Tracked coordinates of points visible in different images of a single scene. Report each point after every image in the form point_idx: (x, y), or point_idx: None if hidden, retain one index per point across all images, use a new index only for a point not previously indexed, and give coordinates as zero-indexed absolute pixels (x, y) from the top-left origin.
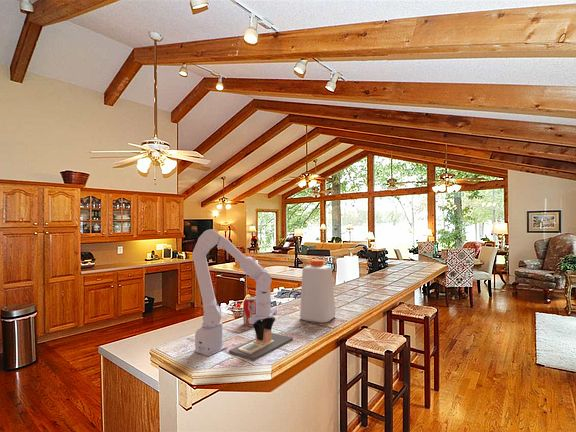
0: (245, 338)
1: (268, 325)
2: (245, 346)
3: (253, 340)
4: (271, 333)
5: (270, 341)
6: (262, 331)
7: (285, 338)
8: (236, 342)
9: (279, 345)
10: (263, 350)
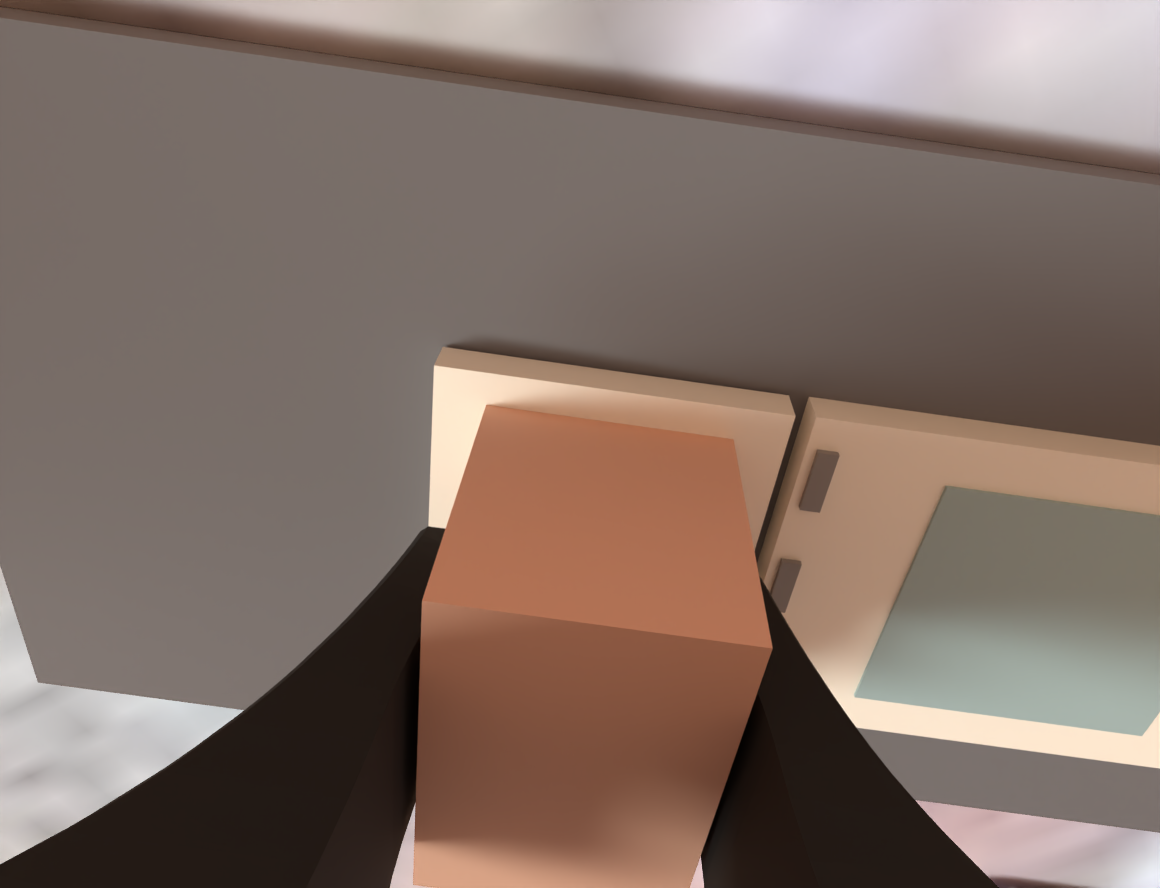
0: None
1: (363, 827)
2: (1043, 707)
3: None
4: (450, 522)
5: (546, 404)
6: (835, 758)
7: (29, 188)
8: (701, 875)
9: (541, 94)
10: (1080, 304)
